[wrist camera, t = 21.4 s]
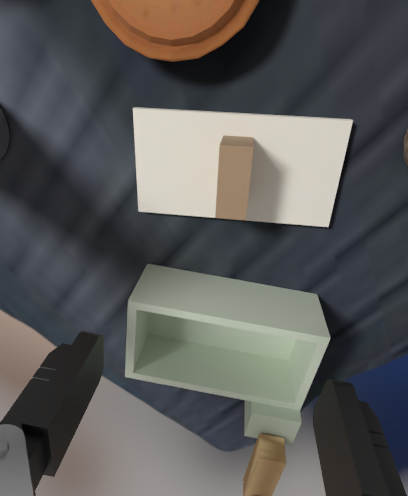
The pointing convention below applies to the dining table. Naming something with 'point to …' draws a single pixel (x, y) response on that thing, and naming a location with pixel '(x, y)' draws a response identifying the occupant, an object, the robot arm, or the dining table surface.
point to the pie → (175, 25)
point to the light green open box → (228, 342)
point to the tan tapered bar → (264, 466)
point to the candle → (406, 148)
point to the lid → (239, 165)
